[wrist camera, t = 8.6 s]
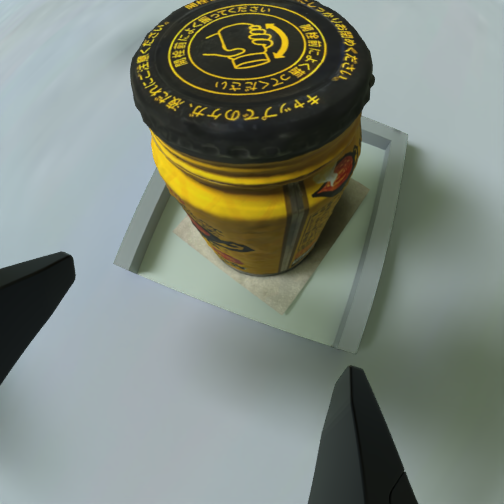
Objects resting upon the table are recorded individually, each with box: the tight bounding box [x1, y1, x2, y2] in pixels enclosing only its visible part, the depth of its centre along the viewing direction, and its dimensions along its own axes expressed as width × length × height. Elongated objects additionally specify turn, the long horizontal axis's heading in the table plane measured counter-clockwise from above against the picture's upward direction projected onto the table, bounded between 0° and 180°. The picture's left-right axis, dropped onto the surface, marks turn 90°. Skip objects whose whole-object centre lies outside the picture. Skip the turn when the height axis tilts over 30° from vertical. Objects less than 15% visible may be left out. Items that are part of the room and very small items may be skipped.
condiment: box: [130, 0, 375, 315], centre depth 11 cm, size 7×8×12 cm
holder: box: [113, 116, 408, 354], centre depth 17 cm, size 13×13×2 cm
